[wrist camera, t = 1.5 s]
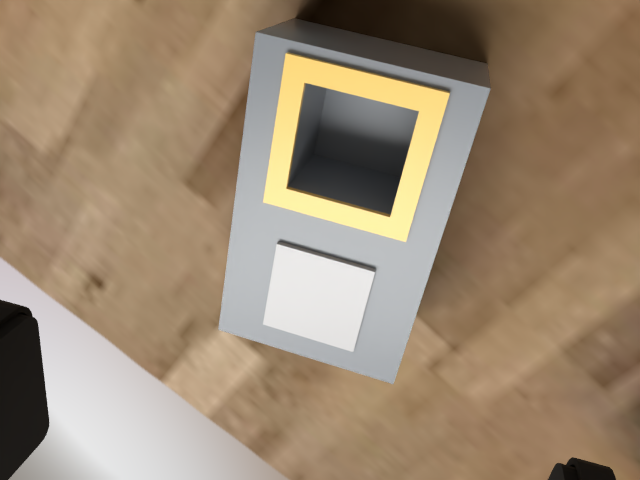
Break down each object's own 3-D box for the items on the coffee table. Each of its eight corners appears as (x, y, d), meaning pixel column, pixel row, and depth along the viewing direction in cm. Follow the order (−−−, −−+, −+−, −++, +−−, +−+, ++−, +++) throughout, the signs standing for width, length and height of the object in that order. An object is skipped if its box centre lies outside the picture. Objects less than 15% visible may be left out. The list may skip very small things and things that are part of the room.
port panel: (294, 18, 30) (253, 32, 24) (487, 63, 28) (490, 89, 23) (254, 276, 37) (216, 332, 32) (405, 321, 36) (392, 387, 30)
